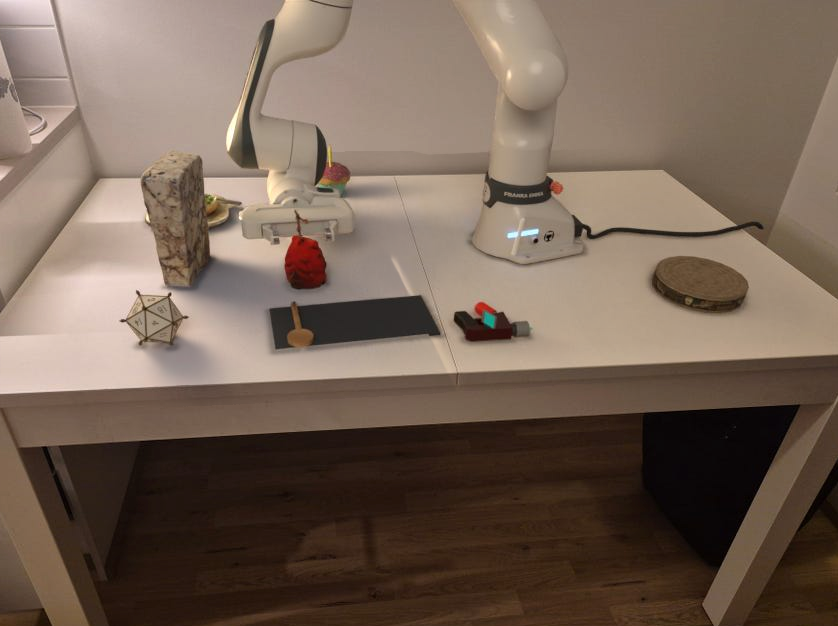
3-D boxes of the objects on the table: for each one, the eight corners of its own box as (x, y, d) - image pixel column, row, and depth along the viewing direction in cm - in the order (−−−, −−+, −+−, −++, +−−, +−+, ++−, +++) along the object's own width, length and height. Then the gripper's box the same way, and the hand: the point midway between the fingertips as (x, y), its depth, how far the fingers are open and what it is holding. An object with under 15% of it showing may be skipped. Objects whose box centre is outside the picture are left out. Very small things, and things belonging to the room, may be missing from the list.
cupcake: (348, 201, 147) (348, 148, 140) (311, 200, 146) (308, 146, 139) (351, 187, 154) (351, 136, 146) (315, 186, 153) (313, 134, 146)
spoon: (281, 306, 108) (280, 301, 108) (305, 304, 109) (305, 299, 108) (288, 348, 98) (288, 343, 98) (315, 345, 99) (315, 340, 99)
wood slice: (659, 262, 128) (663, 248, 126) (746, 283, 123) (752, 269, 121) (644, 297, 117) (648, 282, 115) (739, 322, 111) (745, 307, 109)
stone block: (201, 290, 112) (183, 177, 101) (160, 289, 112) (137, 175, 100) (216, 255, 123) (201, 149, 111) (178, 254, 123) (160, 148, 111)
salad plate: (241, 196, 146) (239, 176, 144) (244, 229, 132) (242, 208, 130) (150, 200, 142) (146, 180, 140) (144, 235, 128) (139, 213, 126)
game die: (165, 368, 100) (141, 347, 91) (126, 334, 102) (98, 311, 92) (205, 325, 102) (186, 301, 93) (167, 293, 104) (144, 266, 94)
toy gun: (535, 340, 104) (541, 314, 101) (463, 345, 102) (466, 319, 99) (516, 308, 112) (520, 284, 109) (448, 313, 109) (451, 287, 107)
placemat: (420, 297, 113) (420, 295, 113) (440, 335, 104) (440, 332, 104) (269, 310, 108) (269, 308, 107) (275, 351, 98) (275, 349, 98)
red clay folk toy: (334, 280, 117) (332, 200, 108) (314, 298, 112) (311, 215, 103) (297, 270, 119) (293, 192, 111) (276, 287, 114) (270, 206, 105)
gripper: (236, 194, 119) (239, 225, 108) (346, 188, 123) (360, 218, 112) (239, 226, 123) (243, 259, 112) (347, 219, 127) (360, 251, 116)
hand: (302, 239), depth 112 cm, fingers open, 8 cm apart
